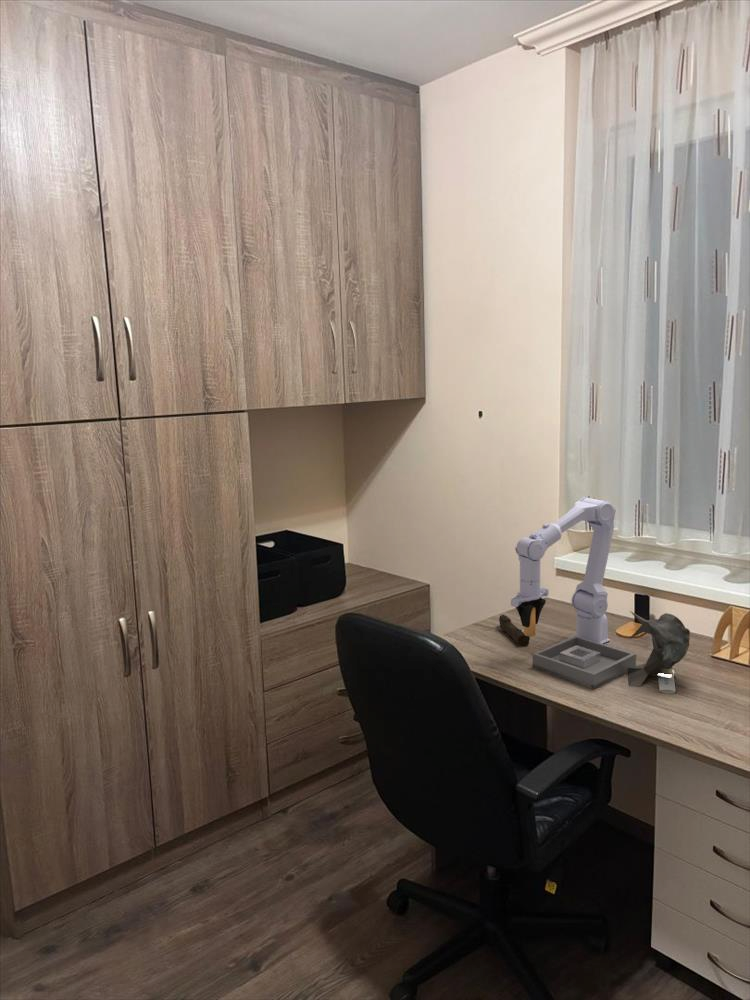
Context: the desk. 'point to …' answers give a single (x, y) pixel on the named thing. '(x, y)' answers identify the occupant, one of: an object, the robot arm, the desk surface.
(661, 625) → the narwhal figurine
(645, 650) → the desk surface
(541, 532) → the robot arm
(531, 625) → the orange wooden block
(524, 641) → the dark brown rod
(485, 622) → the desk surface
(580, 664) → the inlet socket
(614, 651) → the walled box
